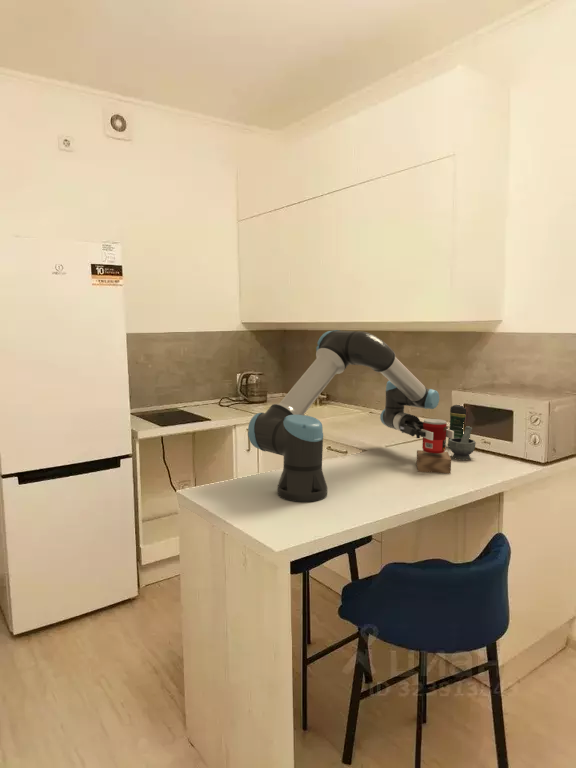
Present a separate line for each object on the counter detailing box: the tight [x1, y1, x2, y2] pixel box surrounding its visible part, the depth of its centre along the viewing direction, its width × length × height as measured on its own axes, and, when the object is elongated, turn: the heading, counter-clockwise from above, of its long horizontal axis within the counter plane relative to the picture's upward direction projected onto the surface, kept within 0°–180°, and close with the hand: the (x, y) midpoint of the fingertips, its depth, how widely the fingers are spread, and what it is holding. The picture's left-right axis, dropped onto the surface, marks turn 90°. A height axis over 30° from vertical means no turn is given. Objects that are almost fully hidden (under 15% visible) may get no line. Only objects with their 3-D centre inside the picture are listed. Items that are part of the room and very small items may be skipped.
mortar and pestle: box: [448, 426, 477, 461], centre depth 209 cm, size 11×9×12 cm
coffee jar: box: [447, 404, 466, 448], centre depth 225 cm, size 10×8×19 cm
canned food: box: [421, 418, 448, 453], centre depth 193 cm, size 8×8×11 cm
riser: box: [415, 449, 452, 474], centre depth 194 cm, size 11×11×5 cm
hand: (442, 435), depth 188 cm, fingers closed on canned food, 8 cm apart
